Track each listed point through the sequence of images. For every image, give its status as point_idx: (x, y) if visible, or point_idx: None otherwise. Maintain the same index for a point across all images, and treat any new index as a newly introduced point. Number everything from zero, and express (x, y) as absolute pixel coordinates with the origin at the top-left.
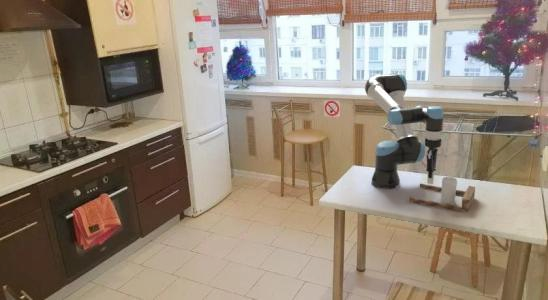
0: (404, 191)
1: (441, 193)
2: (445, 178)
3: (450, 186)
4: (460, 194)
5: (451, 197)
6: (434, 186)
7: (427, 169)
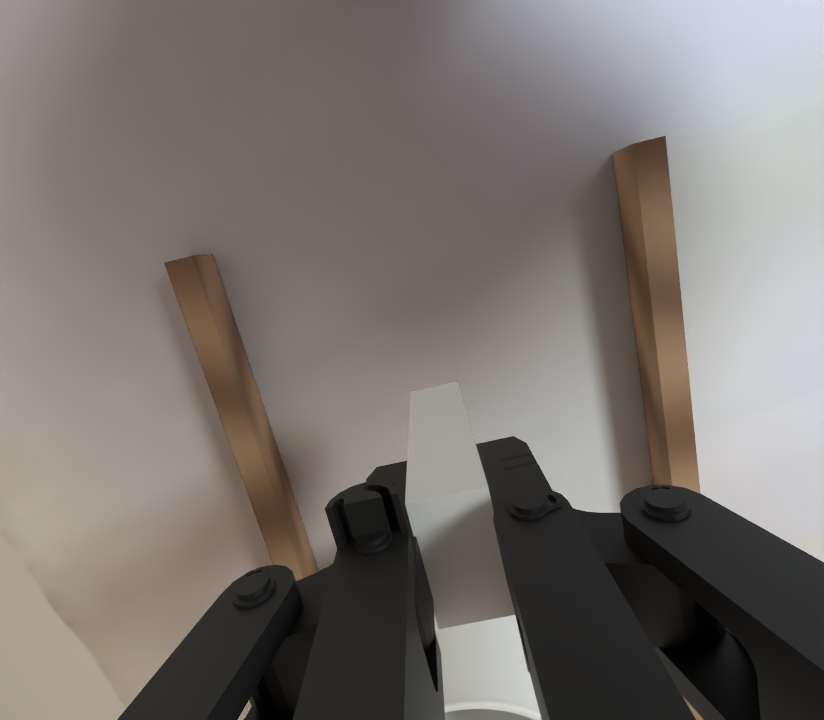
0: (393, 59)
1: None
2: (528, 695)
3: None
4: None
5: None
6: (666, 328)
7: (192, 653)
